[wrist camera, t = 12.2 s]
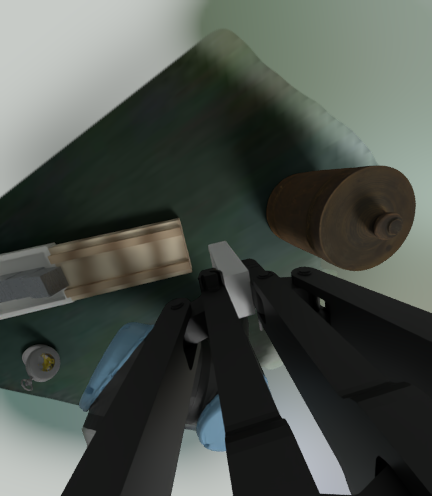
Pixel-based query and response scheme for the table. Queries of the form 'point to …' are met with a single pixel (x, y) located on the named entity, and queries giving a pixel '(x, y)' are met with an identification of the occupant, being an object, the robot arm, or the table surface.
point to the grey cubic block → (6, 288)
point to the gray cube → (45, 282)
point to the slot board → (122, 259)
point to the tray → (23, 262)
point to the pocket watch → (40, 364)
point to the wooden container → (344, 214)
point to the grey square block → (20, 283)
